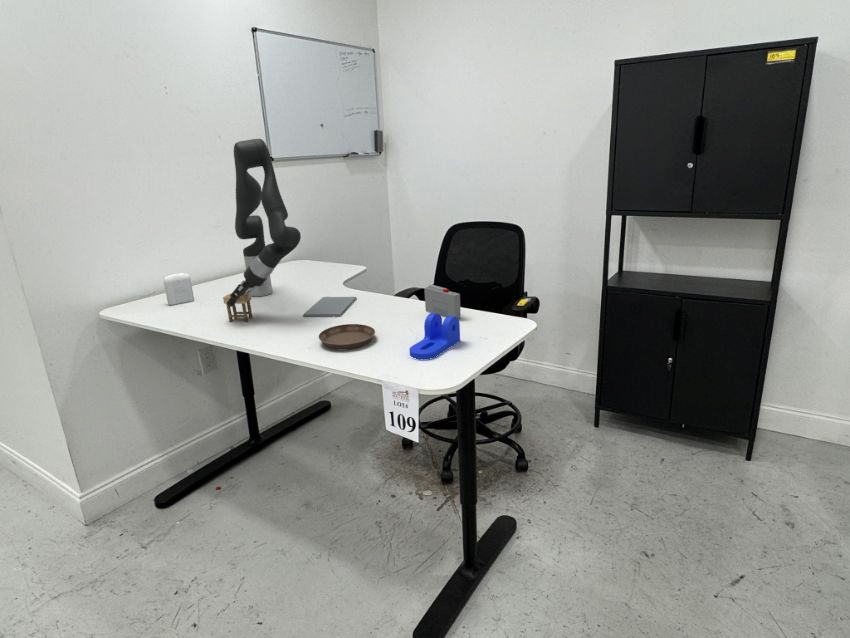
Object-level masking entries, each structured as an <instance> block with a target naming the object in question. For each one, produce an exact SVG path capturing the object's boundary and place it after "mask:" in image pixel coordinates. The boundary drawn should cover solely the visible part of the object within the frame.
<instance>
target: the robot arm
mask: <svg viewBox="0 0 850 638" xmlns="http://www.w3.org/2000/svg"><path fill="white" fill-rule="evenodd" d="M233 145H234V146H233V159H234V169H235V204H236V205H235V207H236V210H235V220H234V221H235V222H234V228H235V229H234V230H235V231H234V232H235V234H236V236H237V237H238V239H240V240H251V239H255V241H254V242H253V243H250V245H248V246H246V247H244V248H243V249H242V253H243V259H244V265H245V271H244V272H243V277H244V279H245V280H242V281H241V282H240V283H239V284H238V285H237V286H236V287H235V289H234V290H233V291H232V292H231V293H232V294H231V295H230V297H231V298H230V299H229V301H228V302H227V304H228V305H229V306H230V308H232V306H233V305H234V304H235V303H236V301H237V300H238V299H239V298H240V297H241V296H244V295H245V294H246V293H251V297H264V296H269V295H271V294H273V286H272V280H271V278H272V277H271V275H272V273H273V271H274V270H275V268H276V267H277V266H278V264H280V262H281V261H282V259H283V258H286V257H287V255H289V254H290V253H291V252H293V251H294V250H295V249H296V248H297V247H298V245H299V244H300V241H301V232H300V230H299V229H298V228H296V227H295V226H287V225H286V222H285V221H286V220H287V219H288V217H289V213H288V210H287V207H286V205H285V203H284V200H283V197H282V195H281V191H280V188H279V185H278V182H277V177H276V176H277V175H276V172H275V169H274V165H273V162H272V158H271V155H270V151H269V148H268V146H267V144H266V142H265V141H264V140H263V139H262V138H253V139H247V140H240V141H237V142H235V143H234V144H233ZM259 167H260V168H261V167H262V170H263V174H264V178H263V183H262V187H261V185H260V183H259V182H258V180H257V179H255V177H253V176H252V175H251V174H250V173H249V171H248V170H249V169H254V168H259ZM260 205H262V207H263V210H264V213H265V215H266V217H267V222H268V230H269V235H270V238H271V241H272V243H270V244H269V243H268V244H267V245H266V241H265V229H264V223H263V220H262V218H261V216H259V214H257V215H255V214H254V215H252V214H253V213H254V212H255V211H256V210H258V208H259V206H260ZM235 294H237V296H236V295H235ZM235 305H236V304H235Z"/></svg>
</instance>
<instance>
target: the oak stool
mask: <svg viewBox="0 0 850 638" xmlns="http://www.w3.org/2000/svg"><path fill="white" fill-rule="evenodd" d="M231 294H232V292H231V293H229V294H227V295H225V296H223V297H222V300H223V304H225V305H226V310H227V311H226V312H227V316H228V321H229V323H232V322H234V320H233V318H234V319H238V318H243V320H244V323H246V322H249V318H251V319H253V312H252V306H251V300H252V296H251V293H249V292H248V293H246V294H245V295H244V296H241V297H240V298H239V299H238V300H237V301H236V303H235V304H234V305H233V306H232V307H230V306H229V305H228V304H227V302H228V301H229V299H230V298H231V297H230V295H231ZM235 295H236V296H237V294H235ZM236 304H237V305H239V304H241V307H242V311H237V307H236ZM246 306H247V307H246ZM231 308H232V310H231ZM232 313H233V314H232Z"/></svg>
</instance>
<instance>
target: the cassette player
mask: <svg viewBox="0 0 850 638" xmlns="http://www.w3.org/2000/svg"><path fill="white" fill-rule="evenodd" d="M423 290H424V303H425V305H424V306H425V312H427V313H428V314H430V313H435V314H439V315H440V316H441V318H445V317H447V316H455V317H457V318H458V319H459V320H461V317H462V316H461V315H462V314H461V293H457V292H454V291H450V289H449V288H446V287H442V286H438V285H434V284H428V285H427V286H426V287H424V289H423Z"/></svg>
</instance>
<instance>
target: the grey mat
mask: <svg viewBox="0 0 850 638" xmlns="http://www.w3.org/2000/svg"><path fill="white" fill-rule="evenodd" d="M356 300H357V296H323V297H321V298H320V299H319V300H318V301H316V302H315V303H314V304H313V305H312V306H311V307H310V308H309V309H308V310H306V311H305V312H304V313H303V314H302V317H303V318H341V317H340V316H342V315H343V314H345V312H346V311H347V310H348V309H349V308H350V307H351V306H352V305H353V304H354V303H355V301H356ZM353 302H354V303H353ZM352 303H353V304H352ZM351 304H352V305H351ZM350 305H351V306H350ZM349 306H350V307H349ZM348 307H349V308H348ZM333 316H335V317H333ZM338 316H339V317H338Z"/></svg>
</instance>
